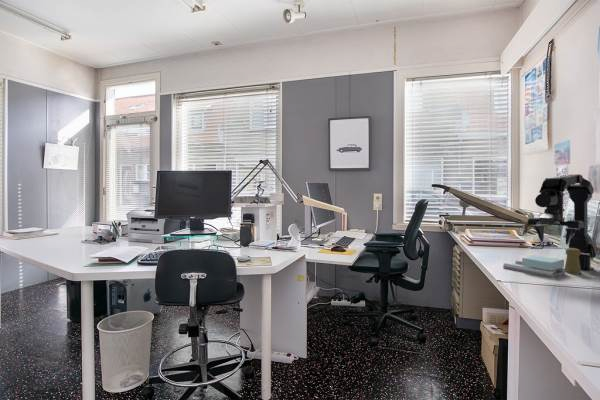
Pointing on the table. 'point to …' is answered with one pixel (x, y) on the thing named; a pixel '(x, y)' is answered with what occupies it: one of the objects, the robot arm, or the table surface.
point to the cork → (572, 261)
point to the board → (534, 269)
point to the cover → (543, 262)
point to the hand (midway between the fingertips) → (554, 243)
